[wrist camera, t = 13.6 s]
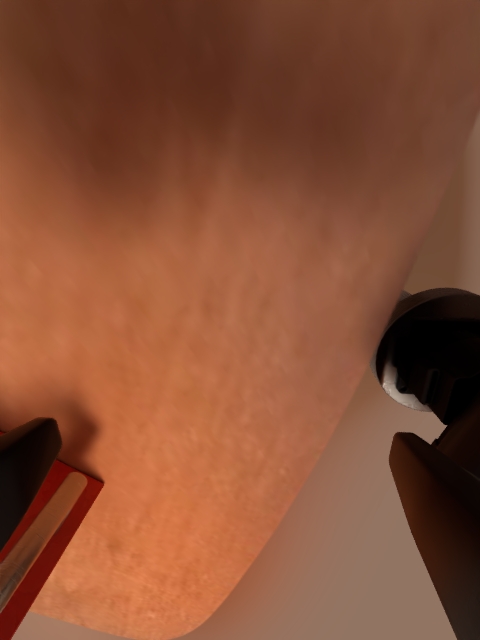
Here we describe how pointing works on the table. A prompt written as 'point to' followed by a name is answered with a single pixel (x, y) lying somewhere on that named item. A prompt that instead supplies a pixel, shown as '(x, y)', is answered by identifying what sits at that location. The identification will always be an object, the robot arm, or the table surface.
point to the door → (42, 541)
